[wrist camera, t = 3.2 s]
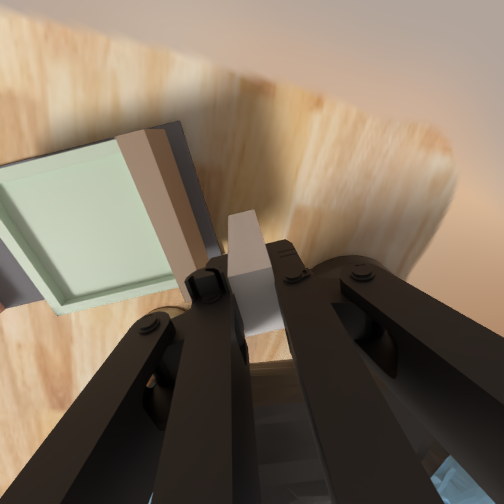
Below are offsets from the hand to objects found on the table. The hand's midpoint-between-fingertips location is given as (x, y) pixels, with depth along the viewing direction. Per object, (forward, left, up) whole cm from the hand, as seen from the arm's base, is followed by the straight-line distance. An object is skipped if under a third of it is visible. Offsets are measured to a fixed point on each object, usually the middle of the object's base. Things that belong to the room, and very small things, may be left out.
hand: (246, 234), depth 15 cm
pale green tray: (+13, 0, -14) cm, 19 cm away
